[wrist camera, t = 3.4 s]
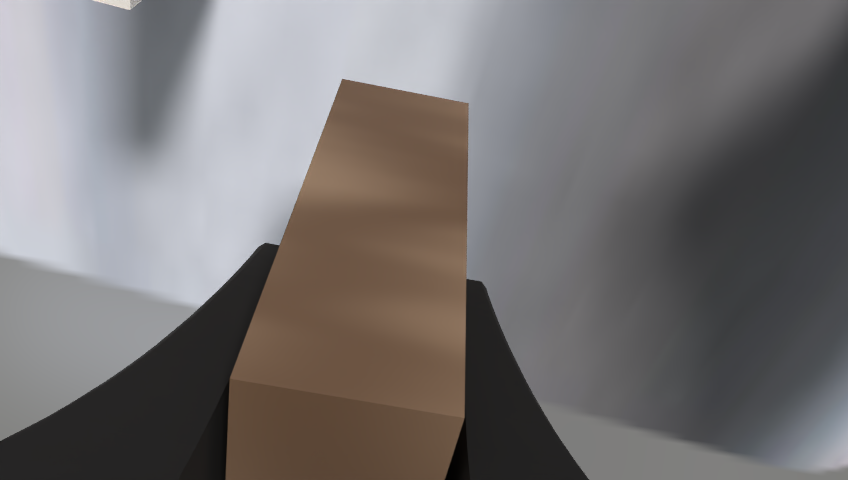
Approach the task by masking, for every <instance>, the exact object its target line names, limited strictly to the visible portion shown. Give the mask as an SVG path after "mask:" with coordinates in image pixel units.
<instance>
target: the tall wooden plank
mask: <svg viewBox="0 0 848 480" xmlns="http://www.w3.org/2000/svg"><path fill="white" fill-rule="evenodd" d="M468 104H469V103H463V102H458V101H453V100H448V99H443V98H438V97H433V96H427V95H422V94H417V93H412V92H407V91H402V90H396V89H391V88H386V87H381V86H376V85H371V84H365V83H360V82H355V81H350V80H345V79H342V81H341V84H340V87H339V89H338V92H337V95H336V97H335V100H334V102H333V105H332V108H331V110H330V113H329V116H328V118H327V121H326V124H325V126H324V129H323V132H322V134H321V137H320V140H319V142H318V145H317V148H316V150H315V153H314V156H313V158H312V161H311V164H310V166H309V169H308V172H307V174H306V177H305V180H304V182H303V185H302V188H301V190H300V193H299V196H298V198H297V201H296V204H295V206H294V209H293V212H292V214H291V217H290V220H289V222H288V225H287V228H286V230H285V233H284V235H283V238H282V241H281V243H280V246H279V249H278V251H277V254H276V257H275V259H274V262H273V265H272V267H271V270H270V273H269V275H268V278H267V281H266V283H265V286H264V289H263V291H262V294H261V297H260V299H259V302H258V305H257V307H256V310H255V313H254V315H253V318H252V321H251V323H250V326H249V329H248V331H247V334H246V337H245V339H244V342H243V345H242V347H241V350H240V353H239V355H238V358H237V361H236V363H235V366H234V368H233V371H232V374H231V376H230V383H229V408H228V433H227V457H226V480H445V478H446V475H447V471H448V468H449V465H450V462H451V459H452V456H453V453H454V449H455V446H456V443H457V440H458V437H459V434H460V431H461V428H462V424H463V421H464V418H465V341H466V262H467V183H468Z"/></svg>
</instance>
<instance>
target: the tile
mask: <svg viewBox="0 0 848 480" xmlns="http://www.w3.org/2000/svg"><path fill="white" fill-rule="evenodd" d="M93 1H97V2H101V3H105V4H108V5H112V6H116V7H120V8H124V9H128V10H131V9H132V8H133V7H135V6H136V5H137V4H138V3H140V2H141V1H142V0H93Z"/></svg>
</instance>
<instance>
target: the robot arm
mask: <svg viewBox="0 0 848 480" xmlns="http://www.w3.org/2000/svg"><path fill="white" fill-rule="evenodd" d="M279 246H280V245H274V244H269V243H264V244H263V245H261V246H259V247H258V248H257V249H256V251H255V252H254V253H253V254H252V255H251V256H250V258H249V259H248V260H247V261H246V262H245V263H244V264H243V265H242V266H241V268H240V269H239V270H238V271H237V272H236V273H235V274H234V275H233V276H232V277H231V278H230V279H229V280H228V281H227V282H226V283H225V284H224V285H223V286H222V287H221V288H220V289H219V290H218V291H217V292H216V293H215V294H214V295H213V296H212V297H211V298H210V299H209V300H208V301H206V302H205V303H204V304H203V305H202V306H201V307H200V308H199V309H198V310H197V311H196V312H195V313H194V314H193V315H191V316H190V317H189V318H188V319H187V320H186V321H184V322H183V323H182V324H181V325H180V326H179V327H177V328H176V329H175V330H174V331H172V332H171V333H170V334H169V335H168V336H166V337H165V338H164V339H163V340H162V341H160V342H159V343H158V344H157V345H156V346H154V347H153V348H152V349H150V350H149V351H148V352H146V353H145V354H144V355H143V356H141V357H140V358H138V359H137V360H136V361H134V362H133V363H132V364H130V365H129V366H127V367H126V368H124V369H123V370H122V371H120V372H119V373H117V374H116V375H115V376H113V377H112V378H110V379H109V380H107V381H106V382H104V383H102V384H101V385H99V386H98V387H96V388H94V389H93V390H91V391H90V392H88V393H87V394H85V395H83V396H82V397H80V398H78V399H77V400H75V401H74V402H72V403H70V404H69V405H67V406H65V407H64V408H62V409H60V410H58V411H57V412H55V413H53V414H51V415H50V416H48V417H46V418H44V419H42V420H40V421H39V422H37V423H35V424H33V425H31V426H29V427H27V428H25V429H23V430H21V431H19V432H17V433H15V434H13V435H11V436H9V437H7V438H5V439H4V440H2V441H0V480H226V457H227V433H228V408H229V383H230V376H231V374H232V371H233V368H234V366H235V363H236V361H237V358H238V355H239V353H240V350H241V347H242V345H243V342H244V339H245V337H246V334H247V331H248V329H249V326H250V323H251V321H252V318H253V315H254V313H255V310H256V307H257V305H258V302H259V299H260V297H261V294H262V291H263V289H264V286H265V283H266V281H267V278H268V275H269V273H270V270H271V267H272V265H273V262H274V259H275V257H276V254H277V251H278V249H279ZM445 480H589V479H588V478H587V476H586V475H585V474H584V473H583V471H582V470H581V468H580V467H579V466H578V465H577V463H576V462H575V460H574V459H573V457H572V456H571V455H570V453H569V451H568V450H567V449H566V447H565V446H564V444H563V443H562V441H561V440H560V438H559V437H558V435H557V434H556V432H555V431H554V429H553V427H552V426H551V424H550V422H549V421H548V419H547V417H546V416H545V414H544V412H543V411H542V409H541V407H540V405H539V404H538V402H537V400H536V398H535V397H534V395H533V393H532V391H531V389H530V388H529V386H528V384H527V382H526V380H525V378H524V376H523V374H522V372H521V370H520V368H519V366H518V364H517V362H516V360H515V358H514V356H513V354H512V352H511V350H510V348H509V345H508V343H507V341H506V339H505V336H504V334H503V332H502V329H501V327H500V325H499V322H498V320H497V317H496V315H495V312H494V309H493V307H492V304H491V301H490V299H489V296H488V293H487V290H486V287H485V286H484V285H483V283H482V282H480V281H475V280H469V279H466V341H465V418H464V421H463V424H462V428H461V431H460V434H459V437H458V440H457V443H456V446H455V449H454V453H453V456H452V459H451V462H450V465H449V468H448V471H447V475H446V478H445Z"/></svg>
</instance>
